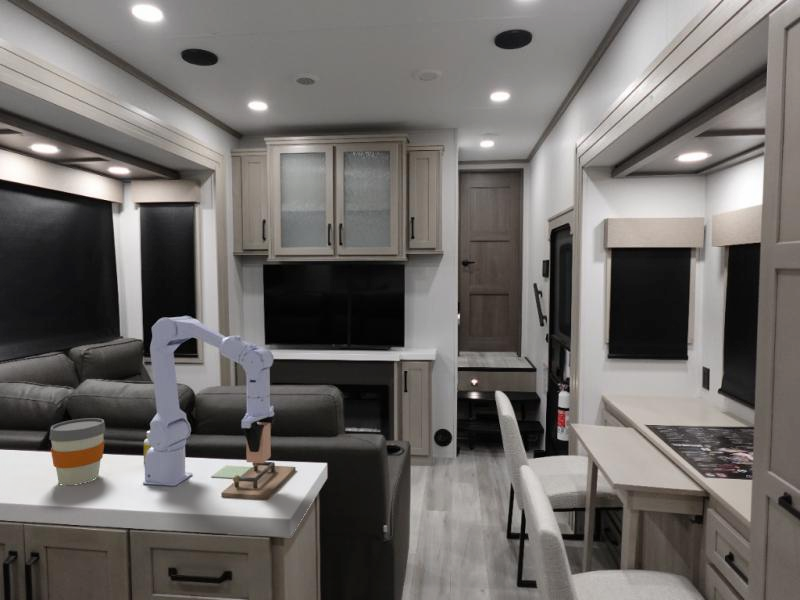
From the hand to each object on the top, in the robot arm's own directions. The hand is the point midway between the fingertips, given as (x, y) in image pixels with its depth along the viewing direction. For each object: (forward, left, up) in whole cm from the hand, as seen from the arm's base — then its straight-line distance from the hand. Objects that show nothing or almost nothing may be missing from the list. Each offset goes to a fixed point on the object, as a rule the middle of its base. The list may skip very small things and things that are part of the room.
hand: (258, 448), depth 122 cm
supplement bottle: (-38, +12, -11) cm, 41 cm away
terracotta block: (0, 0, -3) cm, 3 cm away
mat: (-12, +9, -10) cm, 18 cm away
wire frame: (-1, +3, -10) cm, 11 cm away
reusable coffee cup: (-51, -1, -11) cm, 52 cm away
